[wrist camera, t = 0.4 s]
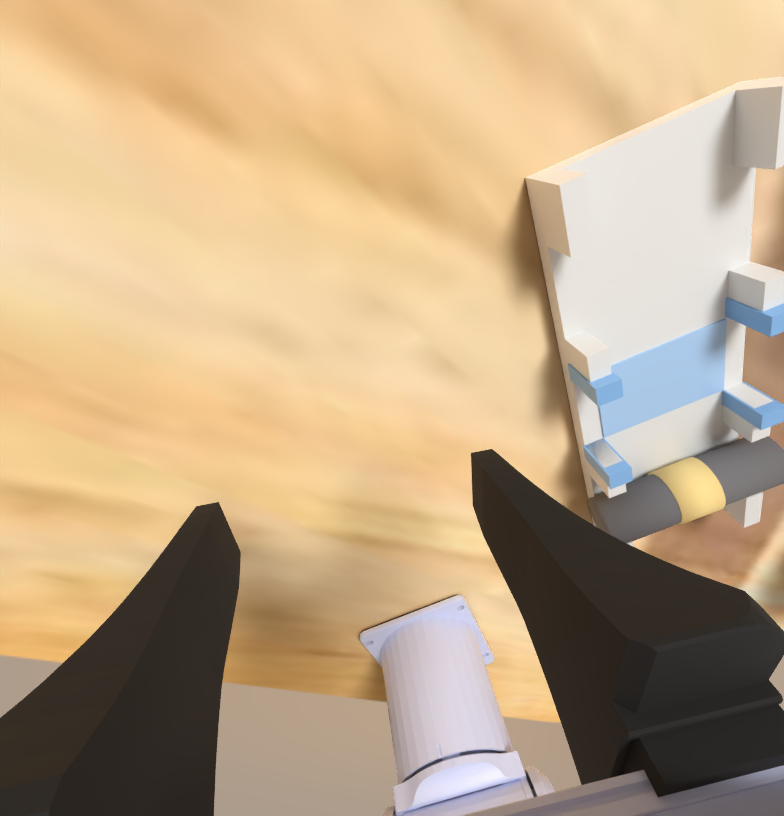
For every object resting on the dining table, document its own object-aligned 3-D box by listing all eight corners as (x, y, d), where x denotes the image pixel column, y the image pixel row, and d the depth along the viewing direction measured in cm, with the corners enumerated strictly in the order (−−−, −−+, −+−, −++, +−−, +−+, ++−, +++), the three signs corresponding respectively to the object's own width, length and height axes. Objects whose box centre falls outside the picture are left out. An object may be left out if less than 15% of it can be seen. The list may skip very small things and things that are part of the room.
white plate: (723, 488, 31) (769, 528, 28) (594, 538, 31) (625, 582, 28) (742, 80, 18) (832, 69, 15) (522, 178, 18) (564, 188, 15)
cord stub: (747, 421, 26) (797, 454, 24) (744, 460, 28) (790, 495, 25) (583, 486, 27) (614, 525, 24) (590, 520, 29) (619, 560, 26)
